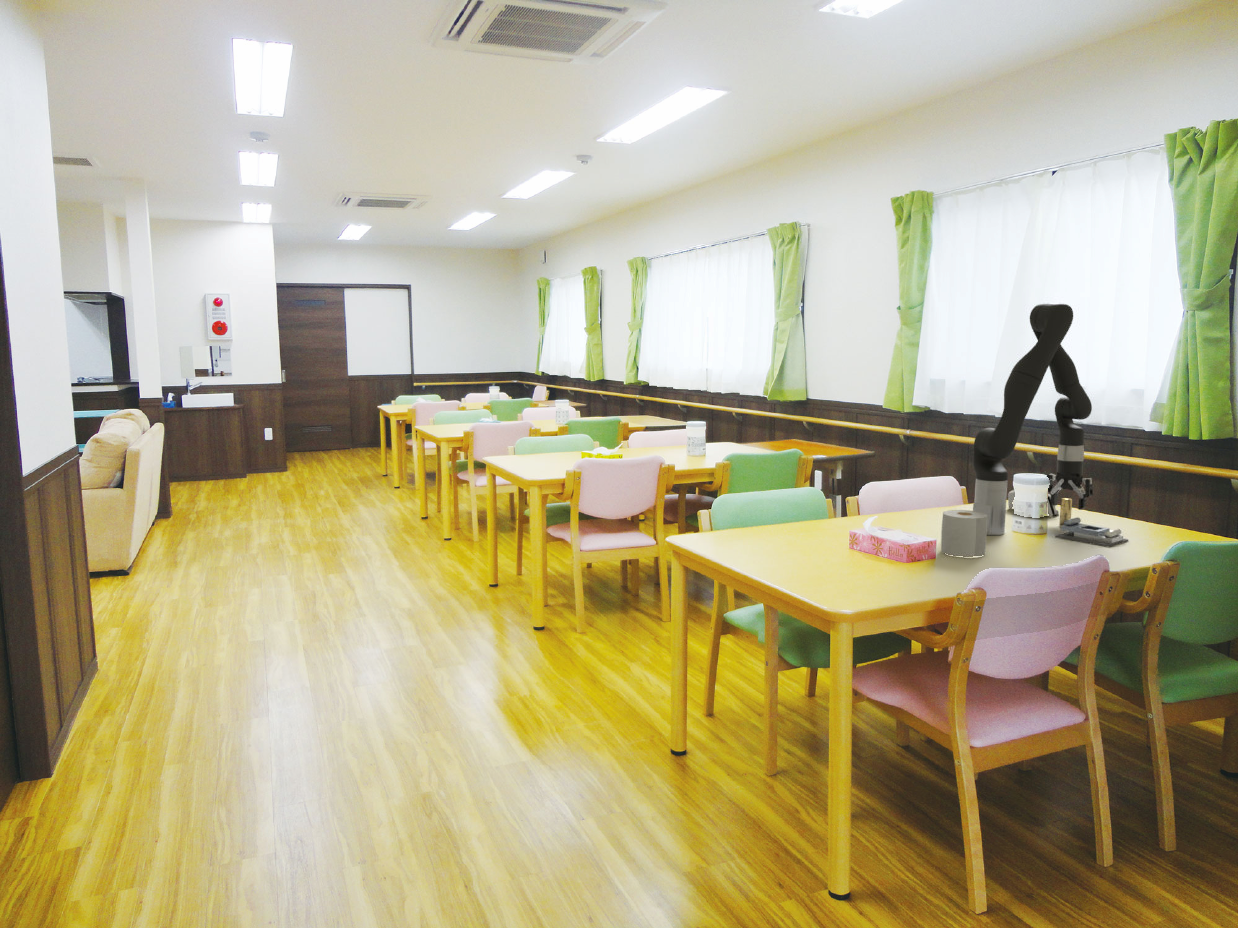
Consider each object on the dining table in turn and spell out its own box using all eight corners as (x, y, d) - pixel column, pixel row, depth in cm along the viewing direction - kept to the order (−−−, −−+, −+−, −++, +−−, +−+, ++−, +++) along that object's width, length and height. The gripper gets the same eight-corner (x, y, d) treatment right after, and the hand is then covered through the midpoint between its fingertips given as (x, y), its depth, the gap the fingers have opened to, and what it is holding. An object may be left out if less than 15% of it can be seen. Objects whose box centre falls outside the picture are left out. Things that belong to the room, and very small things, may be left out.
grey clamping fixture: (1111, 543, 243) (1113, 528, 243) (1060, 534, 255) (1061, 519, 255) (1122, 540, 247) (1124, 524, 247) (1072, 531, 259) (1073, 516, 259)
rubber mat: (1109, 547, 242) (1109, 545, 241) (1054, 536, 254) (1055, 535, 254) (1128, 541, 248) (1128, 539, 248) (1074, 531, 261) (1074, 530, 261)
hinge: (1060, 515, 285) (1055, 489, 282) (1051, 521, 283) (1047, 495, 281) (1017, 507, 300) (1012, 482, 297) (1008, 512, 298) (1004, 488, 295)
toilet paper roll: (955, 559, 230) (957, 519, 228) (932, 549, 242) (934, 510, 240) (994, 557, 232) (996, 517, 230) (969, 547, 244) (971, 508, 242)
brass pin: (1067, 527, 267) (1069, 500, 266) (1057, 525, 270) (1059, 498, 269) (1072, 526, 269) (1074, 499, 268) (1062, 524, 272) (1064, 497, 270)
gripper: (1042, 457, 270) (1040, 505, 272) (1087, 462, 258) (1084, 512, 261) (1054, 455, 274) (1052, 502, 276) (1099, 459, 262) (1096, 509, 265)
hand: (1067, 507), depth 268 cm, fingers open, 8 cm apart
